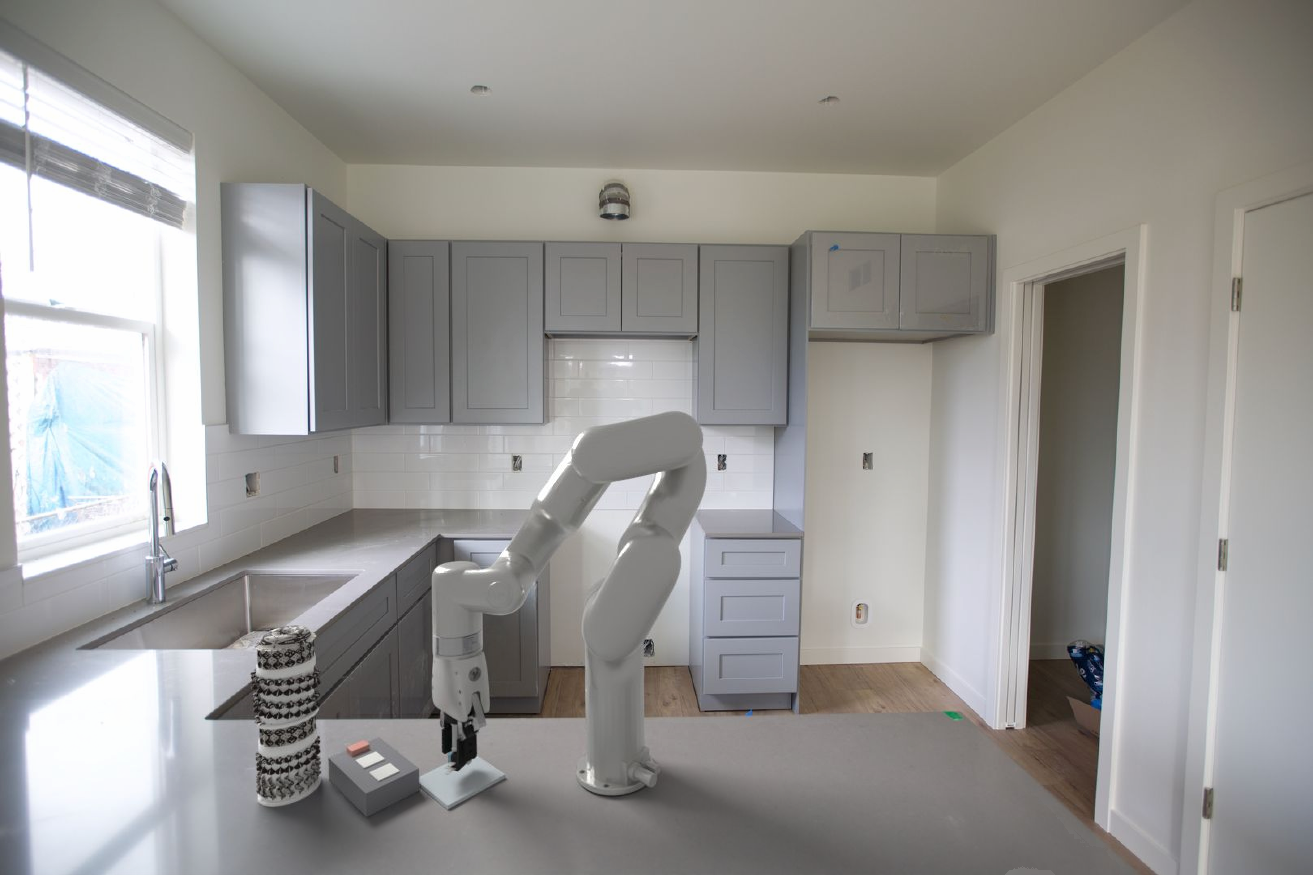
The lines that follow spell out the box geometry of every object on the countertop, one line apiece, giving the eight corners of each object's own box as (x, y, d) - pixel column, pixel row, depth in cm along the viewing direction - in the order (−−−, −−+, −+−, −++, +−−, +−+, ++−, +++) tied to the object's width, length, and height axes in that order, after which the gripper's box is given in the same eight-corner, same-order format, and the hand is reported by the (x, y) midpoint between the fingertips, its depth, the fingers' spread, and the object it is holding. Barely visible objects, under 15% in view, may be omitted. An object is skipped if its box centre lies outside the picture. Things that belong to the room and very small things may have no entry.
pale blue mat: (505, 777, 93) (505, 774, 93) (447, 809, 86) (447, 805, 86) (471, 754, 100) (471, 751, 100) (414, 782, 92) (414, 778, 92)
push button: (460, 780, 89) (459, 716, 88) (431, 774, 90) (430, 710, 90) (485, 756, 95) (485, 696, 95) (458, 751, 97) (457, 691, 96)
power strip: (420, 789, 90) (420, 762, 90) (366, 817, 84) (365, 788, 84) (380, 756, 100) (380, 731, 99) (328, 779, 93) (328, 752, 93)
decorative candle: (239, 800, 88) (234, 637, 88) (296, 766, 97) (292, 617, 96) (281, 814, 85) (276, 645, 84) (336, 778, 94) (332, 624, 93)
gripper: (508, 647, 90) (510, 764, 90) (452, 623, 100) (453, 727, 101) (464, 662, 84) (466, 787, 84) (409, 635, 95) (411, 746, 95)
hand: (459, 753), depth 93 cm, fingers closed on push button, 3 cm apart
